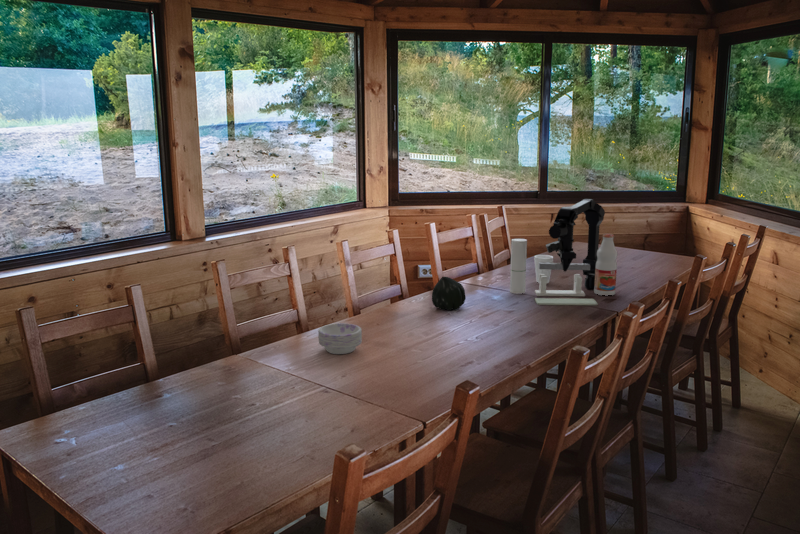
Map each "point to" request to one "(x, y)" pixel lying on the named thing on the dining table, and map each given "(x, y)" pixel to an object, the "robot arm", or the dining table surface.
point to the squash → (448, 294)
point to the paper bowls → (340, 337)
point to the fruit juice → (606, 267)
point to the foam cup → (542, 271)
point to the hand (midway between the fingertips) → (564, 270)
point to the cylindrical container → (518, 266)
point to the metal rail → (560, 266)
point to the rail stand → (575, 292)
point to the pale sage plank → (564, 301)
